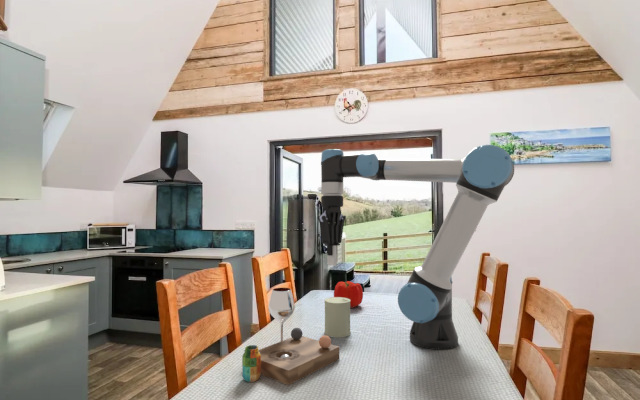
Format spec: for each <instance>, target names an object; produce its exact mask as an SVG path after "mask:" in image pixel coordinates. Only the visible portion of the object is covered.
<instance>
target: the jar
mask: <svg viewBox="0 0 640 400" xmlns="http://www.w3.org/2000/svg"><path fill="white" fill-rule="evenodd" d="M259 350H260V349H259V346H258V345H253V344H251V345H246V346H245V348H244V353H243V354H242V355H241V356H242V360H241V362H242V366H241V367H242V368H241V369H242V372H241V373H242V378H243V380H244V381H245V382H246V383H247V382H248V383H253V382H257V381H258V380H259V379H260V377H261V374H260V373H261V354H260V352H259Z"/></svg>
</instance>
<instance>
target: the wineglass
mask: <svg viewBox="0 0 640 400" xmlns="http://www.w3.org/2000/svg"><path fill="white" fill-rule="evenodd" d="M295 304H296V303H295V300H294V296H293V292H292V289H291V288H289V287H274V288H273V289H272V291H271V293H270V298H269V301H268V312H269V314H270V316H271V317H273V318H274V319H275V320H276V321H277V322H278V324H279V331H280V332H279V333H280V335H279V336H280V338H279V340H280V341H279V342H281V341H284V339H283V338H284V335H283V334H284V331H283V330H284V323H285V322H286V321H287V320H288V319H289V318H291V316H292V315H293V314H294V311H295V310H296V309H295V308H296V305H295Z"/></svg>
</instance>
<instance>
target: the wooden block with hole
mask: <svg viewBox="0 0 640 400" xmlns="http://www.w3.org/2000/svg"><path fill="white" fill-rule="evenodd" d="M259 352H260V354H261V373H260V375H262V376H264V377H267V378H268V379H269V378H270V379H272V380H275V381H276V382H279V383H281V384H284V385H286V386H290V385H292V384H294V383H296V382H299V380H302V379H304V378H305V377H308V376H309V375H312V374H314V373H315V372H317V371H320V370H322V369H324V368H325V367H327V366H329V365H331V364H333V363H336V362H337V361H339V360H340V346H338V345H334V344H332V343H331V345H330V346H329V347H328V348H322V347H321V346H320V345H319V339H314V338H310V337H306V336H304V335H302V337H301V338H300V339H299V340H294V339H293V338H292V337H289V338H286V339H283V341H281V342H280V341H278V342H276V343H273V344H270V345H268V346H265V347H262V348H260V349H259ZM283 354H287V355H289V356H290V357H288V358H280V357H281V356H282V355H283Z"/></svg>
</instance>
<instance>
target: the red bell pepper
mask: <svg viewBox="0 0 640 400" xmlns="http://www.w3.org/2000/svg"><path fill="white" fill-rule="evenodd" d="M362 287H363V286H362V285H361V283H357V282H356V283H354V282H352V281H350V280H347V281H338V282H337V283H336V285H335V287H334V290H333V297H343V298H348V299H350V300H351V301H350V309H351V308H356V307H357V306H359V305H361V304H362V302H363V297H364V293H363V291H364V290H363V288H362Z"/></svg>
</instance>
